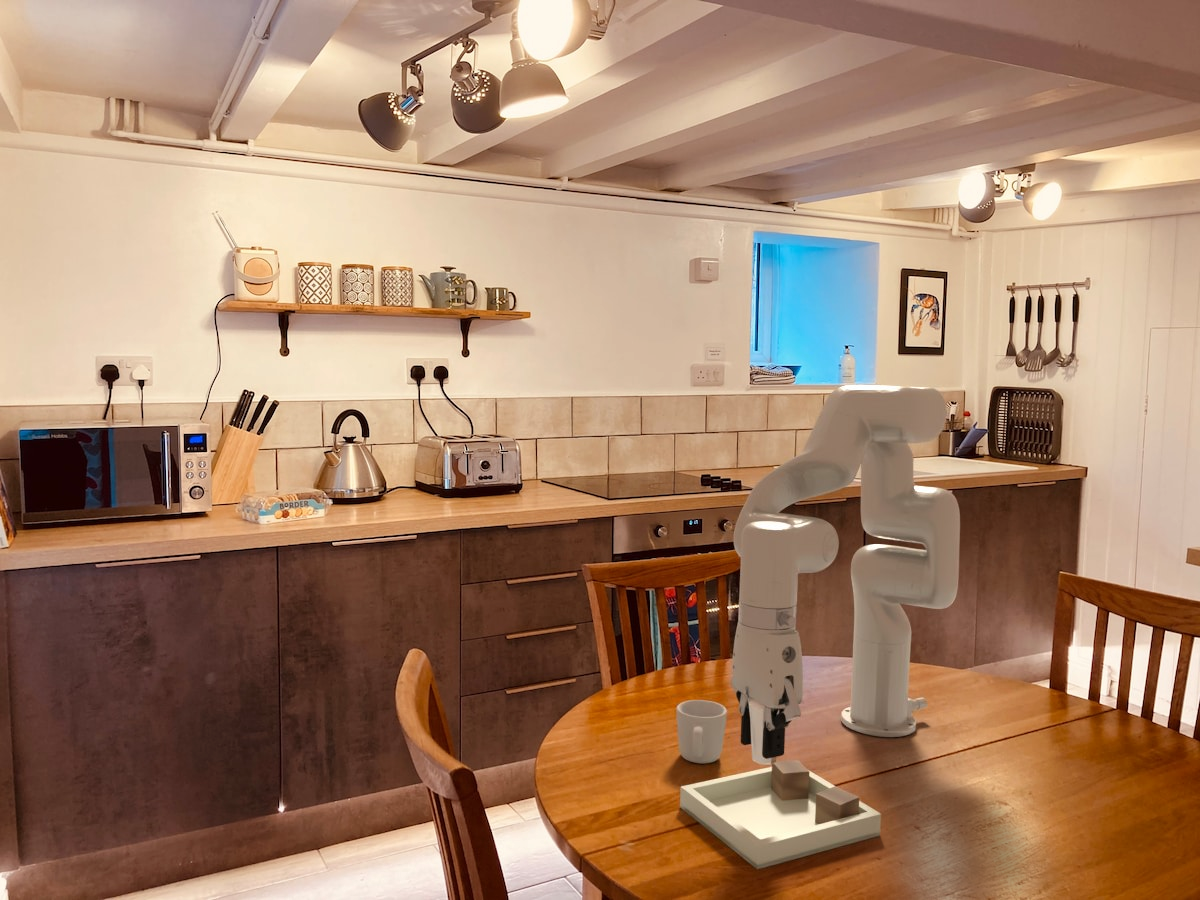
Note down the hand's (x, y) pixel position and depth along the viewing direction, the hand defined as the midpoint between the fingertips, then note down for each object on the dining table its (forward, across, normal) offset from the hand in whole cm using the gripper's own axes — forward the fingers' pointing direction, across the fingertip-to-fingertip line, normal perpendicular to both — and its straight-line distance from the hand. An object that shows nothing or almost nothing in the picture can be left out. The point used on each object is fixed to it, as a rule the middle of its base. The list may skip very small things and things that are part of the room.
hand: (762, 748), depth 126 cm
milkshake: (+2, 0, 0) cm, 2 cm away
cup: (+11, +21, -4) cm, 24 cm away
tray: (+11, 0, -3) cm, 11 cm away
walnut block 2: (+10, -5, -9) cm, 15 cm away
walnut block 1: (+10, +5, -9) cm, 15 cm away
